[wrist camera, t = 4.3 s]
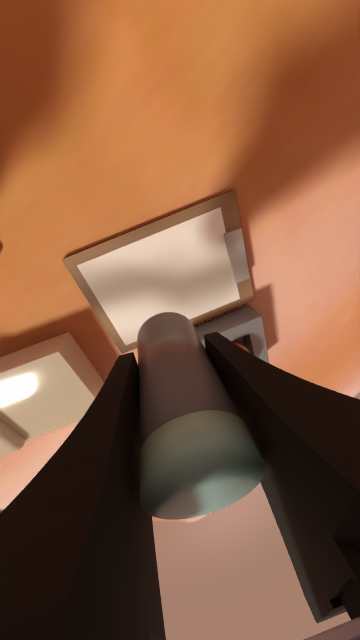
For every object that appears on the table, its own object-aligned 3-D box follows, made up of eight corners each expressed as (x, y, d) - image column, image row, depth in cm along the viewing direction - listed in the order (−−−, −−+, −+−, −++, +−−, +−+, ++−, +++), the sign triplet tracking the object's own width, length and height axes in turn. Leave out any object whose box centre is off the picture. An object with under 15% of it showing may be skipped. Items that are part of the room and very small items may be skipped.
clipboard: (63, 258, 15) (58, 261, 14) (232, 190, 15) (238, 188, 14) (122, 351, 19) (121, 357, 18) (252, 298, 19) (257, 302, 18)
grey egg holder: (179, 332, 19) (184, 347, 17) (248, 304, 19) (261, 315, 17) (199, 381, 23) (206, 398, 21) (258, 357, 23) (270, 372, 21)
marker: (143, 367, 12) (153, 530, 6) (129, 317, 10) (125, 473, 4) (198, 355, 12) (260, 497, 6) (193, 305, 11) (272, 432, 5)
